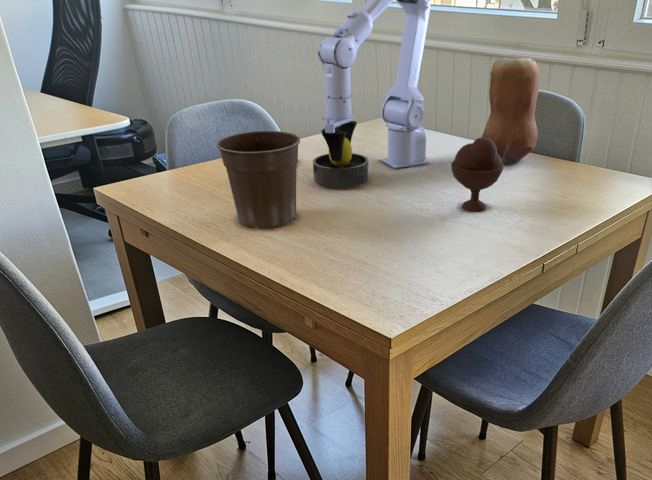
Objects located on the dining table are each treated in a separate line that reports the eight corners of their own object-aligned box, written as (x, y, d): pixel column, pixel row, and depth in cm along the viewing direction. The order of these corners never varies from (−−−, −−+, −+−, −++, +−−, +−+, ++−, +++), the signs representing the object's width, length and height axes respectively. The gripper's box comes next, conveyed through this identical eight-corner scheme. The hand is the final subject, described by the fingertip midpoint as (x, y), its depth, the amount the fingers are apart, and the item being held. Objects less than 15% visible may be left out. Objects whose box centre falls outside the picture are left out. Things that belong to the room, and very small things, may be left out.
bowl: (354, 169, 158) (353, 149, 155) (378, 184, 148) (377, 163, 145) (305, 177, 153) (304, 157, 150) (327, 193, 143) (326, 172, 140)
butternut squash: (500, 151, 170) (511, 51, 157) (543, 160, 163) (558, 56, 149) (470, 162, 162) (478, 57, 148) (514, 172, 154) (527, 63, 141)
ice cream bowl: (502, 201, 137) (510, 131, 129) (494, 219, 129) (501, 146, 120) (455, 196, 140) (460, 128, 132) (444, 213, 131) (448, 141, 123)
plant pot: (214, 216, 131) (202, 138, 123) (280, 199, 140) (273, 125, 131) (251, 240, 121) (240, 157, 112) (320, 220, 129) (315, 141, 120)
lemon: (329, 165, 151) (327, 131, 146) (351, 165, 151) (350, 131, 147) (329, 172, 146) (328, 138, 142) (353, 171, 146) (352, 137, 142)
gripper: (331, 89, 146) (334, 147, 154) (310, 102, 135) (314, 164, 142) (360, 90, 145) (361, 149, 152) (341, 103, 133) (343, 166, 140)
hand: (340, 157), depth 147 cm, fingers closed on lemon, 5 cm apart
